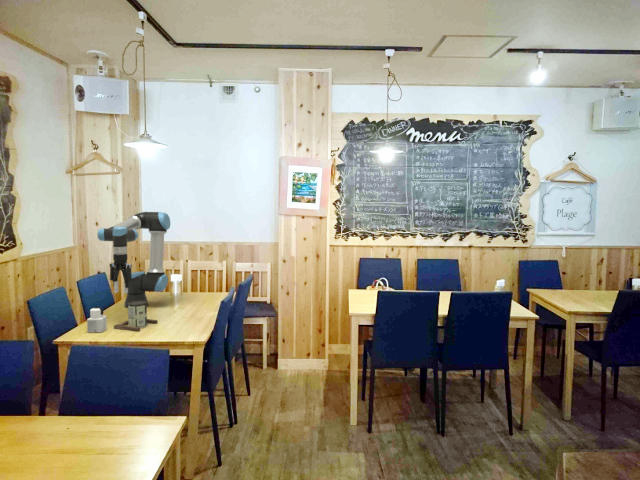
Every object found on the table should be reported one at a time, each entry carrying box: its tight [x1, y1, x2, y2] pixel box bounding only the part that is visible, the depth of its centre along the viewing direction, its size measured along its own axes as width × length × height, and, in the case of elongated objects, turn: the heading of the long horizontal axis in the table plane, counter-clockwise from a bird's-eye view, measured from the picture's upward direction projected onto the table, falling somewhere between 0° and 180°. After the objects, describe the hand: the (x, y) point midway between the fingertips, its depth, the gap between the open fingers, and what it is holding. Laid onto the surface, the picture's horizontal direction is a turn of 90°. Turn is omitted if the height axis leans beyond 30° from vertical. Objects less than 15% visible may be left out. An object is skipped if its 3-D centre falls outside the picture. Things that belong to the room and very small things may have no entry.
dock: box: [113, 318, 159, 333], centre depth 265 cm, size 18×16×2 cm
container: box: [86, 306, 108, 333], centre depth 253 cm, size 8×8×13 cm
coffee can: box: [127, 301, 148, 329], centre depth 264 cm, size 10×10×14 cm
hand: (121, 292), depth 265 cm, fingers open, 6 cm apart
